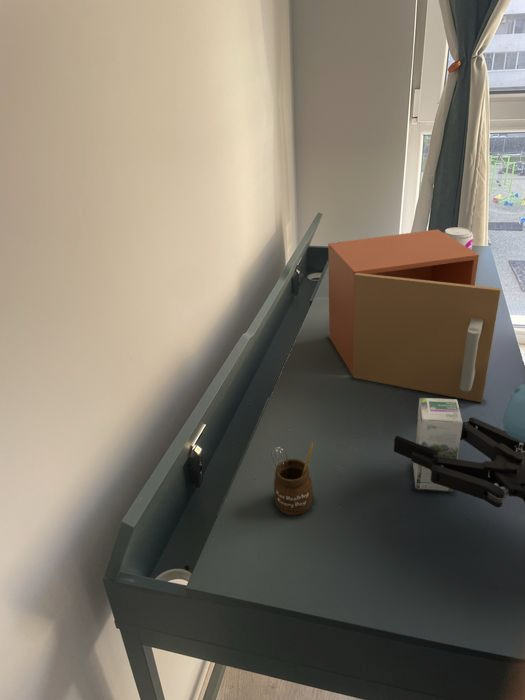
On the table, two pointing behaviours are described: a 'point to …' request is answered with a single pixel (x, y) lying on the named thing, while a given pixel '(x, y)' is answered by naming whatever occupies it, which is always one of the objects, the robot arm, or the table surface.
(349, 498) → the table surface
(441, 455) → the syrup box
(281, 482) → the utensil holder
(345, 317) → the cabinet
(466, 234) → the supplement can
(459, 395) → the cabinet door
